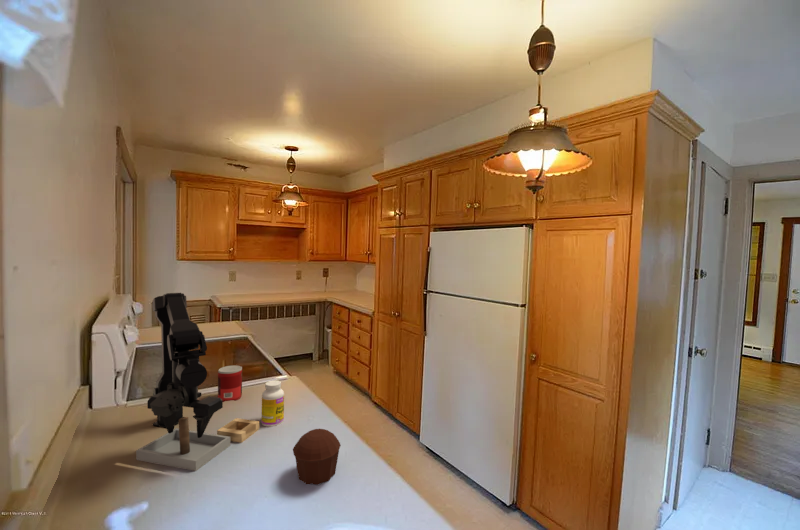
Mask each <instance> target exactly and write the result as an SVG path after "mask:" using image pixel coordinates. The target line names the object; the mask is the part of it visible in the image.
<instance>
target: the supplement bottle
mask: <svg viewBox="0 0 800 530" xmlns="http://www.w3.org/2000/svg"><path fill="white" fill-rule="evenodd" d="M264 385H265V390H264V391H263V392H262V394H261V418H260V419H261V420H260V421H261V425H262V426H264V427H267V428H269V427H277V426H279V425H282V424H283V422H285V421H284V419H285V391H284V390H283V389H282V388H281V386H282V381H281V380H278V379H277V380H269V381H266V382H265V383H264Z"/></svg>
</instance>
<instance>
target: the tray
mask: <svg viewBox="0 0 800 530" xmlns="http://www.w3.org/2000/svg"><path fill="white" fill-rule="evenodd" d="M189 441H190V452H189V453H187V454H184V455H181V454H180V439H179V427H178V428H177V427H175V428H174V430H173V432H172V433H168V432H167V433H165V434H163V435H161V436H160V437H158V438H156V439H154V440H152V441H150V442H149V443H147V444H145V445H143V446H141V447H140V448H138V449H136V451H135V452H136V453H135V456H136V458H135V459H136V461H141V462H146V463H151V464H158V465H162V466H166V467H167V466H168V467H171V468H178V469H184V470H187V471H193V472H197V471H198V470H200V469H201V468H202V467H203V466H205V465H206V464H208V463H209V462H211V461H212V460H213V459H214V458H216V457H218V455H220V454H221V453H222V452H224V451H225V450H226V449H228V448H229V447H231V441H230V437H229V436H222V435H217V433H216V434H214V433H208V432H204V433H203V435H202V437H200V438H198V436H197V430H191V429H189Z"/></svg>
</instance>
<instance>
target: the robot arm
mask: <svg viewBox="0 0 800 530" xmlns="http://www.w3.org/2000/svg"><path fill="white" fill-rule="evenodd" d="M151 307H152V308H151V309H152V312H154V317H155V318H156V320H157V321H158V323H159V324H160V325H161V328H160V329H161V331H160V333H161V335H160V336H161V373H160V374H159V376H158V377H157V379H156V383H155V384H156V385H155V387H154V389H153V391H152V395H150V397H149V398H148V400H147V404H146V405H147V409H150V410H151V412H152V413H153V415H154V416H156V417H157V418H156V421H155V422H153V423H152V426H153V427H154V426H155V427H161V428H166V430H167V433H172V432H173V430H174V429H175V426H176V425H177V424H178V425H179V419H180V418H183V417H184V408H192V409H193V411H192V412H193V414H194V415H192V418H193V419H195V420H196V431H197V436H198V438H200V437H202V435H203V433H205V431H206V429H207V428H208V425H209V423H210V421H211V419H212V417H213V415H214V414H215V413H216V412H218V411H220V410H221V409H223V408H224V407H223V403H224V402H223V401H222V399H221V398H218V396H210V395H208V396H206V397H205V398H203V399H201V400H200V399H199V400H198V398H200V397H202V392H199V391H198V390H199V386H201V385H202V384H203V383H204V382H205V381H206V380H207V377H208V370H207V368H206V367H205V366H204V365H203V364H202V363H201V361H200V357H203V356H206V355H207V354H206V352H207V350H208V347H207V342H206V338H205V335H204V334H203V331H201V330H200V328H199V326H198V324H197V323H195V322H194V321H191V319H190V316H189V314H188V310H187V307H188V304H187V295H185V294H184V292H183V293H182V292H169V293H168V292H166V293H164V294H163V295H157V297H154V298H153V300H152V304H151ZM183 407H184V408H183Z"/></svg>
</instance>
